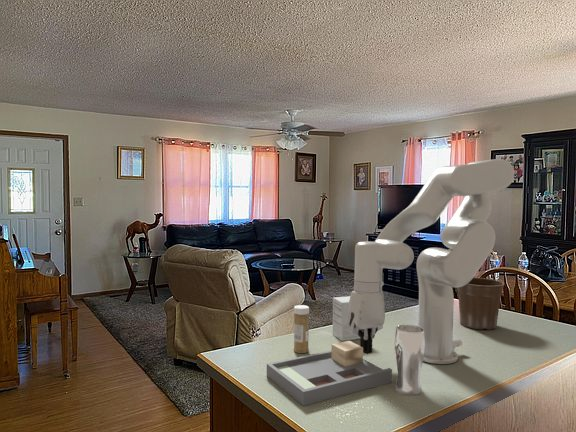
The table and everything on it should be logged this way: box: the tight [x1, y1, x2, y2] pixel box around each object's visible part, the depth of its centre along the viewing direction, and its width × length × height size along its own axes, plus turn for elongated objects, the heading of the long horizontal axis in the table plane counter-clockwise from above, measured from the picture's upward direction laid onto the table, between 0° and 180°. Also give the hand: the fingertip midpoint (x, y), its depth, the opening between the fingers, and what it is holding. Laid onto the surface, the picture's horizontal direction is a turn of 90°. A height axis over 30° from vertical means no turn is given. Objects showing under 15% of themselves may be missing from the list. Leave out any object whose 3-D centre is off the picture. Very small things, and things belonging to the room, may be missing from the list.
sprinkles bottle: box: [293, 304, 310, 354], centre depth 129 cm, size 5×5×13 cm
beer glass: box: [394, 323, 425, 396], centre depth 104 cm, size 7×7×15 cm
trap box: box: [266, 349, 393, 407], centre depth 110 cm, size 26×18×3 cm
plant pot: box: [456, 277, 505, 331], centre depth 156 cm, size 16×16×16 cm
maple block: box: [331, 340, 364, 366], centre depth 117 cm, size 6×6×4 cm
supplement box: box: [332, 295, 360, 342], centre depth 142 cm, size 7×7×13 cm
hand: (366, 351), depth 120 cm, fingers closed
